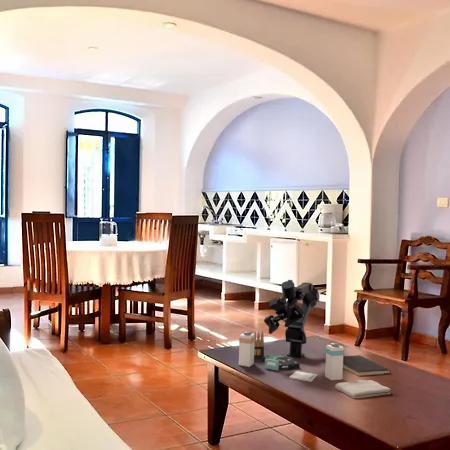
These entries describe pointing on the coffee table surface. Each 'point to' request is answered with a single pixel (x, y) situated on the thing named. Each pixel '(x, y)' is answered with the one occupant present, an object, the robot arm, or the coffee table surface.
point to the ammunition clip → (258, 345)
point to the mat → (303, 376)
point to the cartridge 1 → (246, 349)
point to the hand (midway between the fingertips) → (277, 330)
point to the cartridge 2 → (334, 361)
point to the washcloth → (362, 388)
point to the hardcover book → (363, 366)
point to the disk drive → (284, 362)
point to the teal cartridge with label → (271, 364)
